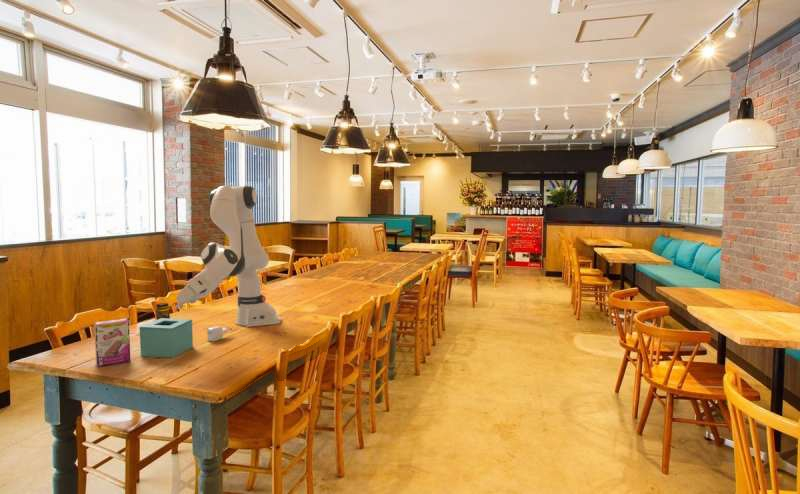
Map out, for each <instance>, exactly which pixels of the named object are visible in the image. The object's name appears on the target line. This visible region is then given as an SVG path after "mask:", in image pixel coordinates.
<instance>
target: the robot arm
mask: <svg viewBox="0 0 800 494" xmlns="http://www.w3.org/2000/svg"><path fill="white" fill-rule="evenodd" d="M208 200H209V205H210V208H209V209H210V210H209V216H210V219H211V221H212V222H213V223H214V225H216V226H217V227H218V228H219V229H220V230H221V231H222V232H223V233H224V234H225V235H226V236H227V238H228V241H229V248H228V247H226V246H224V245H222V244H220V243H218V242H215V241H213V242H209V243H208V244H206V245H205V246H204V247H203V248H202V250H201V252H200V257H201V260H202V263H203V265H204V266H205V267H204V268H203V269H201V271H200V272H199V273H197V274H196V275H195V276H193V277H192V278H190V279H189V280H188V281H187V283H186V285H184V287H183V288H182V289H181V290H180V292H178V294H177V295H176V298H175V300H176V301H177V304H176V305H175V307H176V308H177V309H178V310H179V309H181V308H183V306H184V305H186V304H188V303H190V304H195V303H196V302H197V301H198V300H199V299H203V298H204V297H207V296H209V295H210V294H212V293H213V292H214V291H215V290H216V289H217V288H218V286H220V285H221V284H222V281H223V280H225V279H227V277H228V276H229V277H234V276H236V278H237V291H238V295H237V307H238V308H237V309H238V310H237V317H236V321H235V324H236V325H238V326H244V327H248V328H250V327H260V326H261V327H262V326H269V325H278V324H280V323H281V322H282V318H281V316H279V315H278V314H277V311H276V308H275V307H274V306H272V305H271V304H269V303H268V302H266V300H267V298H266V295H264V294H262V281H261V278H260V276H259V275H258V273H257V271H259V270H262V269H265V268H266V267H267V266H268V265H269V263H270V257H269V256H270V255H268V252H267V251H266V250H265V249H264V248H263V246H262V244H261V242H260V240H259V237H258V234H257V230H256V224H255V218H254V217H255V216H254V214H253V208H254V207H255V206H256V204H257V201H258V194H257V191H256V189H255V188H254V187H253V186H250V185H244V186H243V185H242V186H241V185H240V186H239V185H238V186H229V185H221V186H219V187H218V188H216V189H214V190H211V192H210V193H209V195H208Z"/></svg>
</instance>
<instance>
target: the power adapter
mask: <svg viewBox="0 0 800 494" xmlns="http://www.w3.org/2000/svg"><path fill="white" fill-rule="evenodd" d="M231 330H233V328H232V327H230V328H229V327H222V326H219V325H215V326H210V327H208V328H207V331H206V332H207V333H206V334H207V340H208V341H209V342H216V341H220V340H222V339H223V338H224V337H223V336H224V335H223V334H226V333H229V331H231Z"/></svg>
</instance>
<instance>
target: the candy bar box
mask: <svg viewBox="0 0 800 494" xmlns="http://www.w3.org/2000/svg"><path fill="white" fill-rule="evenodd" d="M93 326H94V345H95V347H94V349H95V363H96V367H97V368H98V366H100V367H105V366H104V365H106V366H110V365H109V364H111V365H116V364H115V363H117V364H121V362H123V363H128V362H131V342H130V340H131V339H130V321H129V320H128V318H121V319H111V320H104V321H96V322H94V325H93ZM127 361H128V362H127Z"/></svg>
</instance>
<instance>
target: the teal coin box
mask: <svg viewBox="0 0 800 494" xmlns="http://www.w3.org/2000/svg"><path fill="white" fill-rule="evenodd" d="M193 339H194V338H193V320H192V319H188V318H170V319H169V318H161V319H158V320H156V319H155V320H153V321H151V322H149V323H145V324H143V325H141V326H139V344H140V348H139V349H140V357H153V358H154V357H156V358H157V357H158V358H176V357H177V356H178V355H180V354H182V353H185V352H186V351H187V350H189V349H192V348H193V347H194V342H193Z"/></svg>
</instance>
